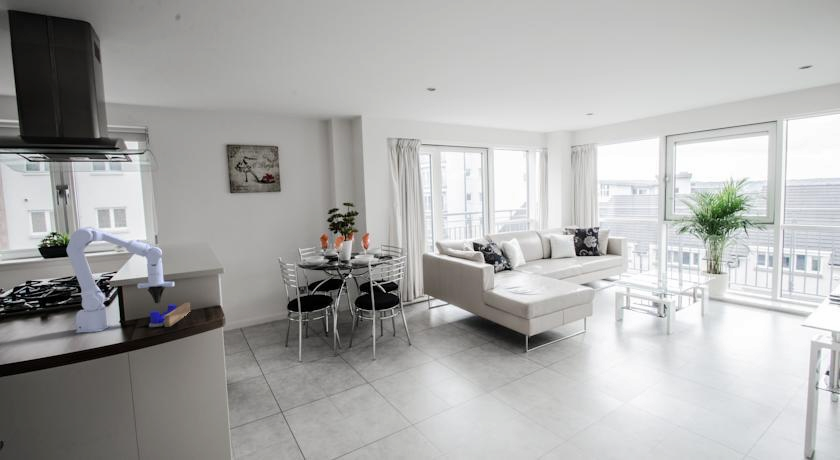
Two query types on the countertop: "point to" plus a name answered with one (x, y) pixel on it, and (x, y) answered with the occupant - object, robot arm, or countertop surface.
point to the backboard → (176, 314)
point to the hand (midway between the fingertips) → (157, 302)
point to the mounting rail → (157, 324)
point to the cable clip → (157, 318)
